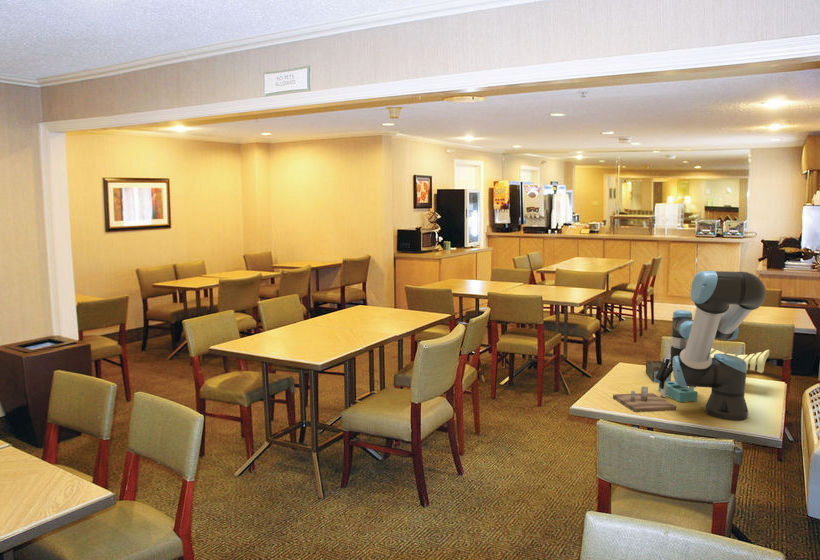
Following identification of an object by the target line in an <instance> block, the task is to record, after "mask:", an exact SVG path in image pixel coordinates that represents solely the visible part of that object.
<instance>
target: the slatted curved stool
mask: <svg viewBox="0 0 820 560" xmlns="http://www.w3.org/2000/svg"><path fill="white" fill-rule="evenodd" d="M716 353H717V354H718V353H721V354H727V355H732V356H735V357H738V358H741V359H743V360H744V361H745V362H746V370H747V371H748V370H749V371H754V372H755V371H756V372H758V373H760V374H763V373H764V371H765V364H766V361H767V359H768V358H769V356H770V349H766V350H764V351H759V352H756V353H750V354H749V355H748V354H738V355H737V354H733V353H726V352H723V351H720V350H717V349H716V350H715V348H713V347H712V349H711V352H710V356H711V358H714V357H713V356H714V354H716Z"/></svg>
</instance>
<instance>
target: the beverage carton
mask: <svg viewBox="0 0 820 560" xmlns="http://www.w3.org/2000/svg"><path fill="white" fill-rule="evenodd" d="M662 363H663V360H646V361H645V373H646V374H647V376H648V377H649V378H650V379H651V381H652V383H654V382H656V383H655V384H659V382H660V381H659V380H657V379H656V376H657V373H658V371H659V369H660V367H661V365H662ZM667 368H668V367H667ZM666 370H667V369H666ZM669 381H672V373H671V374H670V375H669V377H668V378H667V379H666V380H665V382H669Z"/></svg>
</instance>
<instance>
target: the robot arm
mask: <svg viewBox="0 0 820 560" xmlns="http://www.w3.org/2000/svg"><path fill="white" fill-rule="evenodd" d="M690 287H691V288H690V298H691V301H692V302H693V303H694V306H695V307H696V309H695V313H694V317H693V313H692V311H690V310H685V309H676V310H674V311H673V312H672V313H673V314H672V323H671V325H672V326H671V341H670V357H669V358H667V357H663V359H662V362H663V363H662V365H661V367H660V369H659V371H658V373H657V376H656V379H657V380H659V381H660V386H659V385H658V388H659V387H660V388H661V392H660V397H661V396H662V397H663V398H666V396H667V395H666V384H667V382H665V380H666V379H667V378H668V377H669V375H670V374H671V375H672V374H673V380H674V381H675V382H676V384H678V385H680V386H686V387H688V388H690V389H692V390H694V391H695V388H711V392H710V395H709V397H708V400H707V402H706V403H705V406H704V412H705V413H706V414H707V415H710V416H711V417H714V418H717V419H722V420H728V421H743V420H746V419H748V417H749V416H748V415H749V410H748V407H747V402H746V398H745V393H746V382H747V380H746V379H747V374H748V372H747V371H748V370H746V362H745V361H744V360H743V359H741V358H738V357H737V356H736V357H735V356H732V355H727V353H725V354H721V353H718V354H717V353H716V354H714V356H713V357H714V358H711V356H710V352H711V349H712V348H713V346H714V341H715V340H721V341H723V340H724V341H734V340H736V339H738V335H739V332H740V329H739V326H740V325H741V323H742V322H744V320H746V318H747V317H748V316H749V314H750V313H752V311H755V310H757V309H759V308H760V307H761V305H762V304H764V302H765V300H766V297H767V289H766V287H765V283H763V281H762V280H761V279H760V278H759V277H758V276H757V275H755V274H754V273H751V272H748V271H730V270H729V271H723V270H722V271H719V270H718V271H717V270H716V271H715V270H701V271H699V272H697V273H696V274H695V275H694V277H693V280H692V282H691V286H690ZM667 367H668V368H667ZM666 369H667V370H666Z"/></svg>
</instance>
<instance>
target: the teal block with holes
mask: <svg viewBox="0 0 820 560" xmlns="http://www.w3.org/2000/svg"><path fill="white" fill-rule="evenodd" d="M659 386H660V382H659V383H658V392H660V393H661V388H660V387H659ZM667 395H668V396H667ZM666 396H667V397H669V398H671V397H672V398H671V399H673V400H674V399H675V400H674V401H676V400H677V402H678V401H679V402H678V403H686V402H685V401H695V402H697V401H698V391H696V390H695V389H694V390H692V389H690V388H689V386H688V387H686V386H680V385H678V384H676V382H675V380H673V381H672V380H671V381H669V382H667V384H666Z"/></svg>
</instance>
